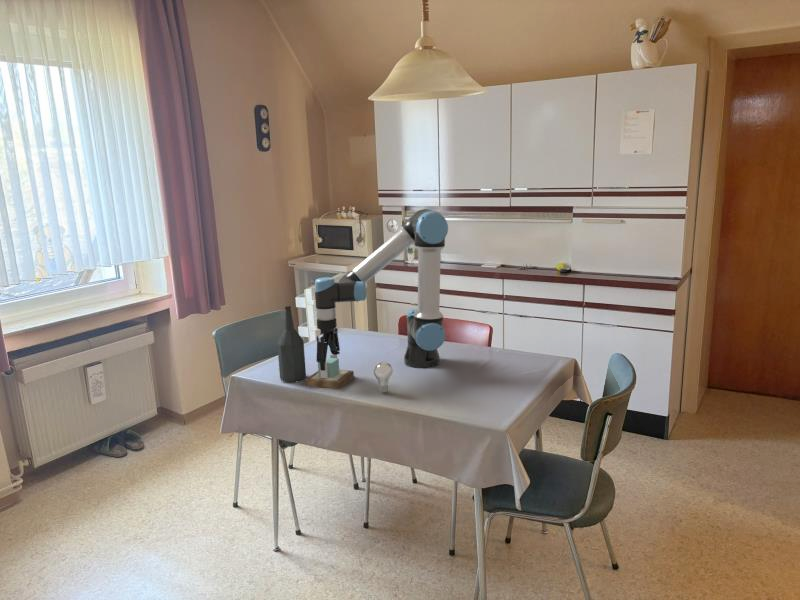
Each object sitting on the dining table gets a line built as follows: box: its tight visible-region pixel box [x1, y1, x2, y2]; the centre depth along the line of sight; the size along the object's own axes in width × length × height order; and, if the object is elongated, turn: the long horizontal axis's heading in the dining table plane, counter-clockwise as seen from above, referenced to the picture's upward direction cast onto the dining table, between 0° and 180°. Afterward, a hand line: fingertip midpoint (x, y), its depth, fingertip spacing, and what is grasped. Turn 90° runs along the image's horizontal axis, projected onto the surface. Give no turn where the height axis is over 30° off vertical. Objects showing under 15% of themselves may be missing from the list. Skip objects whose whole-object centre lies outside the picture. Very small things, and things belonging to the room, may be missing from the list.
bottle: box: [276, 305, 307, 383], centre depth 241 cm, size 10×10×30 cm
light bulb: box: [373, 361, 394, 394], centre depth 225 cm, size 7×7×12 cm
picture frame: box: [305, 369, 355, 390], centre depth 240 cm, size 14×14×3 cm
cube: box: [317, 356, 340, 378], centre depth 239 cm, size 6×6×6 cm
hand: (329, 373), depth 239 cm, fingers open, 8 cm apart
